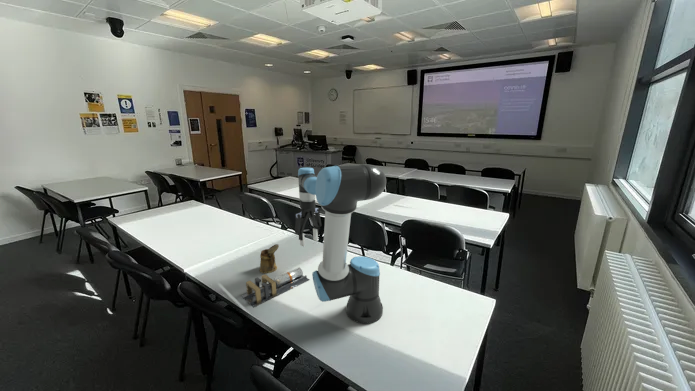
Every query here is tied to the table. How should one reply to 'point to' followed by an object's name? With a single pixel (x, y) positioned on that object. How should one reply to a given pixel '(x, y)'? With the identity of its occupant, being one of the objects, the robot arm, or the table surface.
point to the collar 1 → (251, 286)
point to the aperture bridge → (263, 286)
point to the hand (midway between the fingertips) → (309, 243)
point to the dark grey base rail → (279, 290)
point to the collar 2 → (272, 282)
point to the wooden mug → (268, 260)
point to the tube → (288, 277)
